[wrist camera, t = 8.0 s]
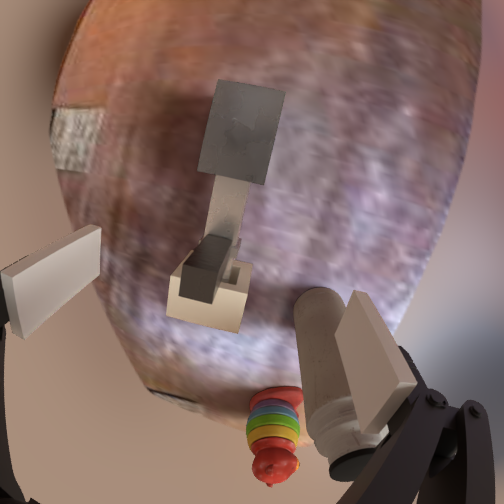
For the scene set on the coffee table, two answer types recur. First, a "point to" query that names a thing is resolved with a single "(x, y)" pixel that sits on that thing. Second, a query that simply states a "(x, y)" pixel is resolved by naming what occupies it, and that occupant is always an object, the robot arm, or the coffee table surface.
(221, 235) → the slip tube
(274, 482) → the stacking bear
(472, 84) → the coffee table surface
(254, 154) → the grey block
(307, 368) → the thermos bottle
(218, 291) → the socket block
